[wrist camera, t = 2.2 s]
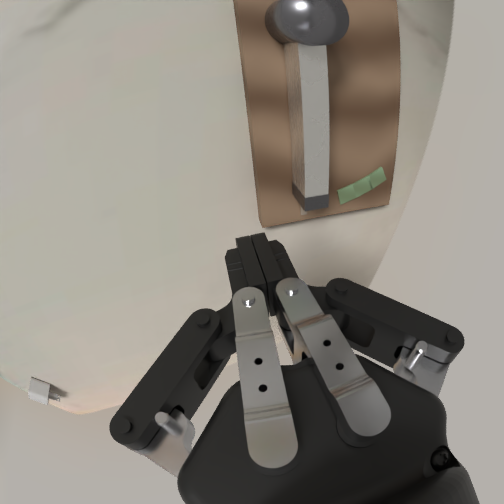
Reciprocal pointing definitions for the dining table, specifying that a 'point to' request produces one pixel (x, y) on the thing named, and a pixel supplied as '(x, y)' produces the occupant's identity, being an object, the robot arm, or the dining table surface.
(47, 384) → the usb wall charger
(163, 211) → the dining table surface
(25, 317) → the dining table surface
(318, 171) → the lever
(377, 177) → the plate
